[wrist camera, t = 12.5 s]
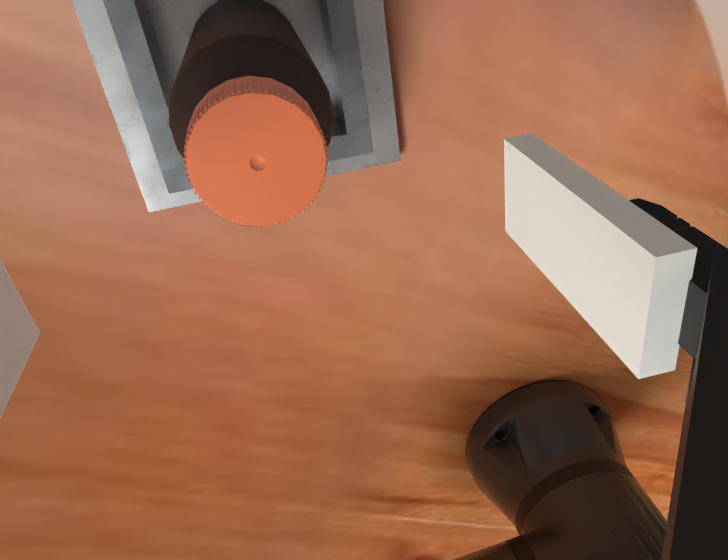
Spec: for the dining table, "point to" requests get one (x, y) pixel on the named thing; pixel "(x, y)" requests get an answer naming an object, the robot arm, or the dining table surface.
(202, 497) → the dining table surface
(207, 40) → the vinegar
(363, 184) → the dining table surface
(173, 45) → the duct collar
